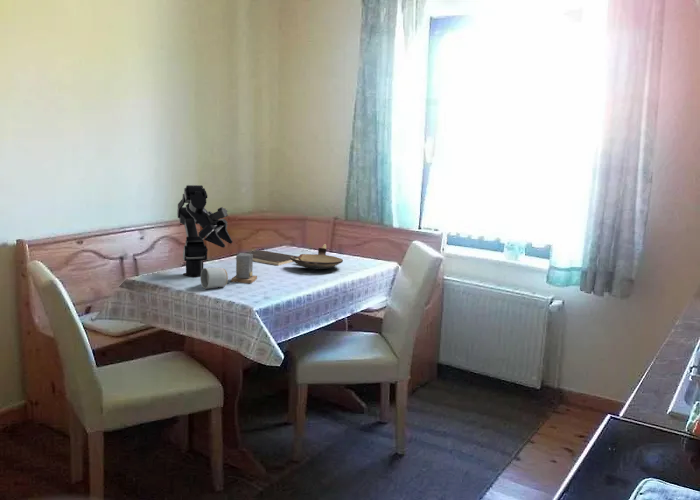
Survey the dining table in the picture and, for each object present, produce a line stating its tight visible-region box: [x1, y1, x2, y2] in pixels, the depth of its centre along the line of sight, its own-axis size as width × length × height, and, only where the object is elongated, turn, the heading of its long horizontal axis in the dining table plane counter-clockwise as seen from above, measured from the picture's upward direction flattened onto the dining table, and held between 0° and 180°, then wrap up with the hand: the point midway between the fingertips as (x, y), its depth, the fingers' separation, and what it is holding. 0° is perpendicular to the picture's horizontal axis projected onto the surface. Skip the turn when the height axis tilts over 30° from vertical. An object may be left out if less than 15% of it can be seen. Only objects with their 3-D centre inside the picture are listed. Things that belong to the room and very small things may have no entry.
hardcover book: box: [247, 249, 299, 266], centre depth 303 cm, size 16×23×2 cm
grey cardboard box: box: [235, 252, 254, 279], centre depth 260 cm, size 6×5×9 cm
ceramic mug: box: [199, 267, 229, 290], centre depth 249 cm, size 11×8×8 cm
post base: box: [230, 274, 258, 284], centre depth 261 cm, size 8×8×4 cm
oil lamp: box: [290, 243, 344, 270], centre depth 290 cm, size 22×30×8 cm
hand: (228, 244), depth 259 cm, fingers open, 9 cm apart
